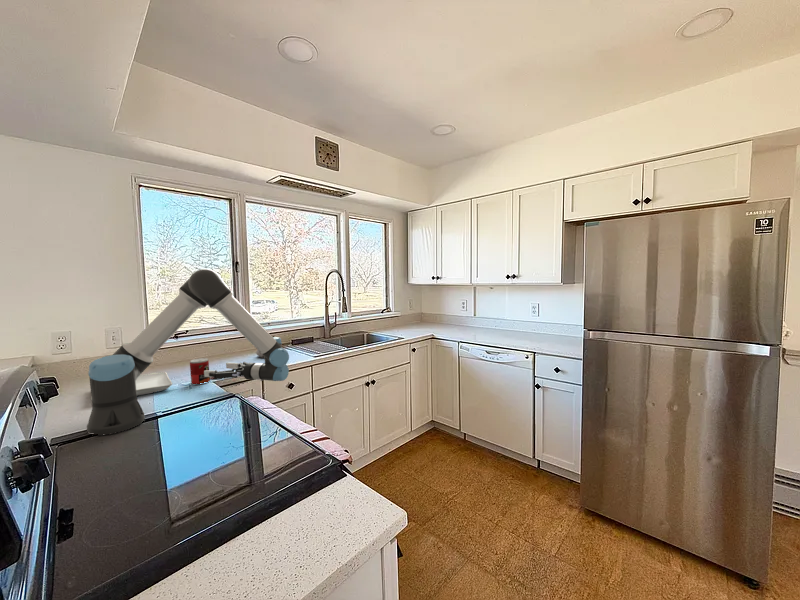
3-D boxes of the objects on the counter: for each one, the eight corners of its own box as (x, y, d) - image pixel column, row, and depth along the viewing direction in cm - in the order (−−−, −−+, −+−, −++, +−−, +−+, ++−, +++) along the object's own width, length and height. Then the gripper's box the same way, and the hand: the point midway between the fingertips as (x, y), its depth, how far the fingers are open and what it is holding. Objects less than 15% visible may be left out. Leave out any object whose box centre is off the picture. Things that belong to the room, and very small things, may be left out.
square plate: (94, 390, 155) (93, 382, 155) (166, 378, 172) (166, 370, 172) (91, 407, 134) (90, 398, 134) (173, 391, 152) (172, 382, 151)
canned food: (201, 385, 158) (200, 362, 157) (187, 384, 160) (185, 361, 159) (213, 380, 166) (212, 358, 165) (199, 379, 167) (198, 357, 166)
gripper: (236, 388, 143) (195, 385, 148) (272, 371, 168) (235, 369, 173) (235, 370, 143) (194, 368, 148) (271, 356, 167) (234, 355, 172)
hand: (216, 369), depth 160 cm, fingers open, 13 cm apart
